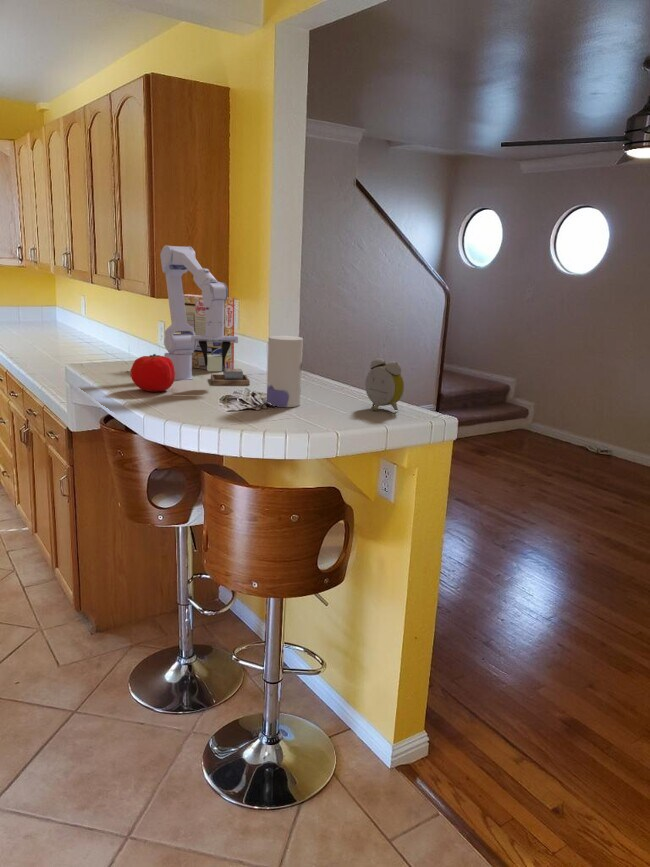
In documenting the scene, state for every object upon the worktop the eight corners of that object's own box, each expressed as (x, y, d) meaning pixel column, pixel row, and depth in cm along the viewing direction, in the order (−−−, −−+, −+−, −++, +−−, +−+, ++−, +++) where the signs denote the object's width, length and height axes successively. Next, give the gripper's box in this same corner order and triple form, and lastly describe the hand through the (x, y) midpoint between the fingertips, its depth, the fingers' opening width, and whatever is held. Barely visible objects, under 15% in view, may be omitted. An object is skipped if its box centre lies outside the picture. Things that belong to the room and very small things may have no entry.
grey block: (224, 383, 223) (224, 371, 222) (223, 380, 229) (223, 368, 228) (242, 383, 224) (242, 371, 223) (240, 380, 230) (240, 368, 229)
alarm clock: (403, 412, 196) (407, 362, 193) (387, 415, 192) (391, 363, 188) (374, 404, 205) (378, 356, 201) (358, 407, 200) (362, 357, 196)
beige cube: (207, 371, 210) (207, 356, 209) (206, 368, 215) (206, 354, 213) (222, 371, 211) (222, 357, 210) (220, 368, 216) (221, 354, 214)
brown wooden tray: (213, 386, 220) (213, 380, 219) (210, 380, 230) (210, 374, 230) (249, 386, 223) (249, 380, 222) (245, 380, 233) (245, 374, 232)
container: (307, 405, 199) (310, 338, 194) (282, 409, 193) (284, 340, 187) (284, 399, 206) (287, 334, 201) (259, 403, 199) (261, 335, 194)
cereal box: (234, 370, 251) (235, 297, 244) (225, 372, 245) (225, 298, 238) (189, 364, 259) (189, 293, 252) (179, 366, 254) (179, 294, 246)
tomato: (178, 394, 206) (178, 357, 203) (133, 395, 200) (132, 357, 197) (171, 386, 216) (171, 351, 213) (128, 387, 211) (127, 351, 208)
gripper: (191, 322, 204) (191, 366, 207) (239, 324, 207) (238, 367, 211) (190, 320, 210) (190, 363, 214) (236, 321, 214) (236, 363, 217)
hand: (214, 365), depth 213 cm, fingers closed on beige cube, 4 cm apart
